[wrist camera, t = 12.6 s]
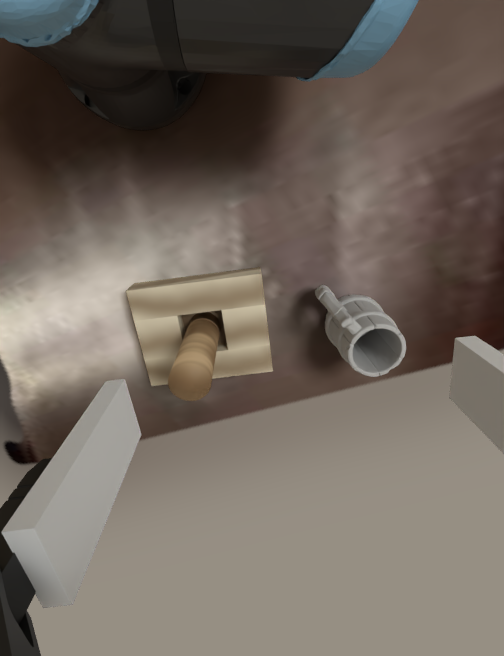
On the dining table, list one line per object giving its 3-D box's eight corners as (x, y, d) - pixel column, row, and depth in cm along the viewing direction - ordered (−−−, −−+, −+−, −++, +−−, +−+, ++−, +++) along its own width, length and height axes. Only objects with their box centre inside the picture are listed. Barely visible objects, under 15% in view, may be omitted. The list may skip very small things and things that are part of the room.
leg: (186, 313, 45) (163, 366, 32) (218, 309, 45) (207, 360, 32) (192, 342, 47) (172, 403, 34) (223, 338, 47) (214, 398, 34)
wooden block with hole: (134, 283, 45) (125, 291, 42) (259, 267, 44) (261, 273, 41) (157, 373, 50) (151, 386, 46) (270, 359, 49) (272, 371, 46)
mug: (347, 355, 49) (378, 405, 38) (289, 300, 46) (304, 336, 35) (391, 318, 47) (437, 359, 36) (333, 257, 44) (364, 281, 33)
